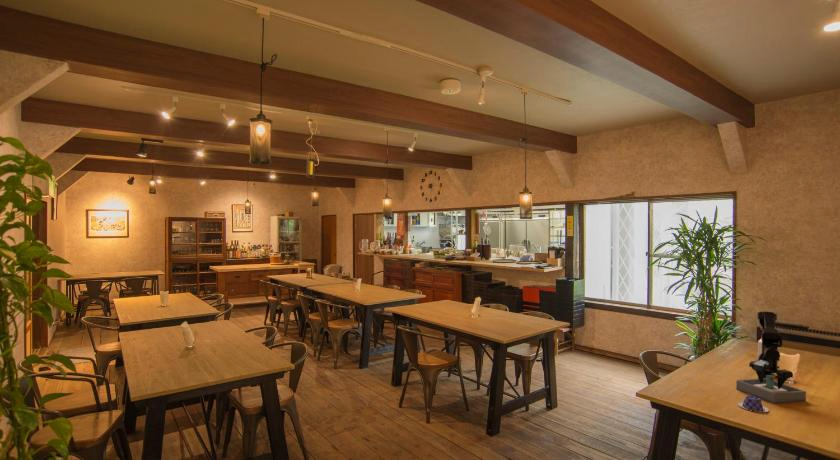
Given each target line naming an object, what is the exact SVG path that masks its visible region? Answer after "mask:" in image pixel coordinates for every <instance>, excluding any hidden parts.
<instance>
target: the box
mask: <svg viewBox="0 0 840 460" xmlns="http://www.w3.org/2000/svg"><path fill="white" fill-rule="evenodd" d="M735 388H736V390H737V391H739V392H741V393H744V394H748V395H749V396H754V397H758V398H760V399H761V401H766V402H767V403H770V404H773V405H777V404H779V405H780V404H790V403H802V402H806V401H807V400H806V399H807V391H806V390H802V389H799V388H798V387H794V386H792V385H791V386H790V385H788V384H785V383H784V384H783V385H782V387H781V388H780V389H778V380H777V381H776V380H774V389H768V388H766V378H764V379H763V382H762V383H761V382H760V380H759V379H758V378H747V379H736V387H735Z"/></svg>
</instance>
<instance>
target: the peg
mask: <svg viewBox="0 0 840 460" xmlns="http://www.w3.org/2000/svg"><path fill="white" fill-rule="evenodd" d="M774 381H775V375H773V376H771V375H766V388H768V389H774Z"/></svg>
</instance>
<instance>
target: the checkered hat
mask: <svg viewBox="0 0 840 460" xmlns="http://www.w3.org/2000/svg"><path fill="white" fill-rule="evenodd" d="M737 405H738V406H739V407H741V409H744V410H748V409H750V410H748V411H752V410H755V411H754V412H755V413H756V412H757V411H758V412H762V411H763V412H762V413H768V412H769V411H770V410H769V408H767V407H766V406H764V405H763V402H762V399H760V398H758V397H755V396H752V395H746V396H745V397H744V400H743V401H740V402H737ZM742 406H743V407H742ZM764 409H765V411H764ZM752 412H753V411H752ZM758 412H757V413H758Z"/></svg>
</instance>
